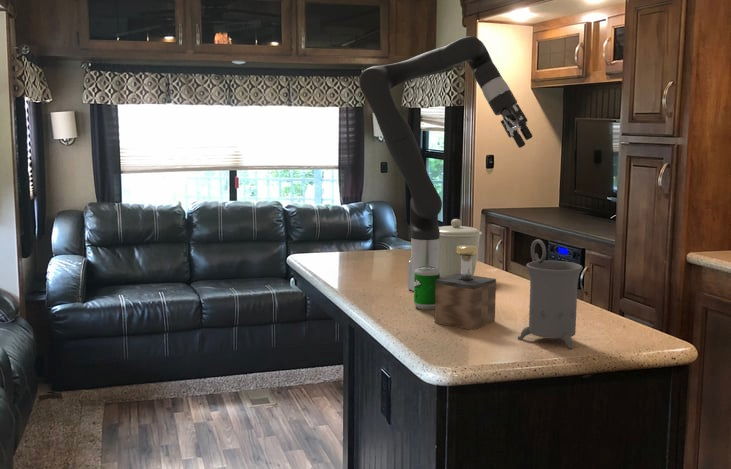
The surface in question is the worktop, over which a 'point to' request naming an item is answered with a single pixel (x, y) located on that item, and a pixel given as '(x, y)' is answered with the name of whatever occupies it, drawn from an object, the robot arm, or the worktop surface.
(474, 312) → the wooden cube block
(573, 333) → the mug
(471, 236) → the canister
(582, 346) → the worktop surface
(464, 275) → the brass round peg
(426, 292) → the soda can
